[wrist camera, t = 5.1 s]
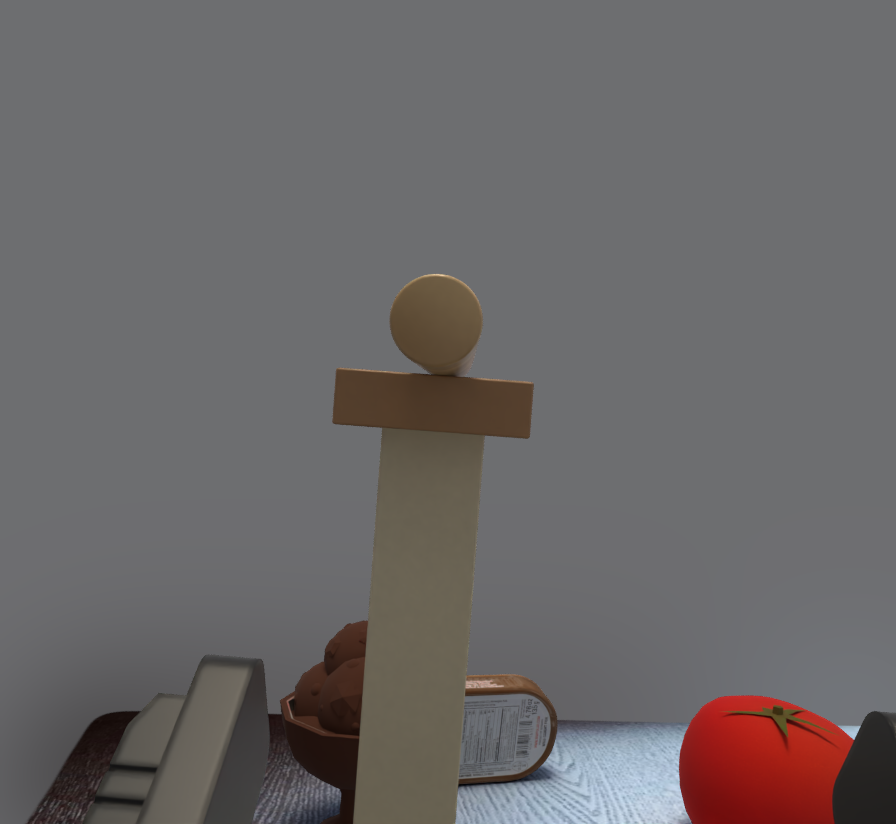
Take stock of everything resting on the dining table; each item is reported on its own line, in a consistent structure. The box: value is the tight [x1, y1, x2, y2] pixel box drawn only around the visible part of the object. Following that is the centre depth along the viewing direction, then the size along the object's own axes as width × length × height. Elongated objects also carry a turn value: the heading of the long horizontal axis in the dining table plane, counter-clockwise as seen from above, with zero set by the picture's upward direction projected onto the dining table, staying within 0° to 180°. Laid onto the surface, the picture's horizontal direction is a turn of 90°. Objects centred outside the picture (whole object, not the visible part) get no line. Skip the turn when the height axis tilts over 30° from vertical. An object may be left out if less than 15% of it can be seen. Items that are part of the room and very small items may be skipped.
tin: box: [458, 674, 557, 784], centre depth 69 cm, size 15×3×8 cm, turn 108°
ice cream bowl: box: [280, 621, 368, 824], centre depth 58 cm, size 11×11×15 cm
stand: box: [332, 368, 534, 824], centre depth 35 cm, size 10×8×32 cm
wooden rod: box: [390, 274, 483, 377], centre depth 31 cm, size 20×2×2 cm, turn 179°
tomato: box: [679, 696, 854, 824], centre depth 59 cm, size 12×14×12 cm
